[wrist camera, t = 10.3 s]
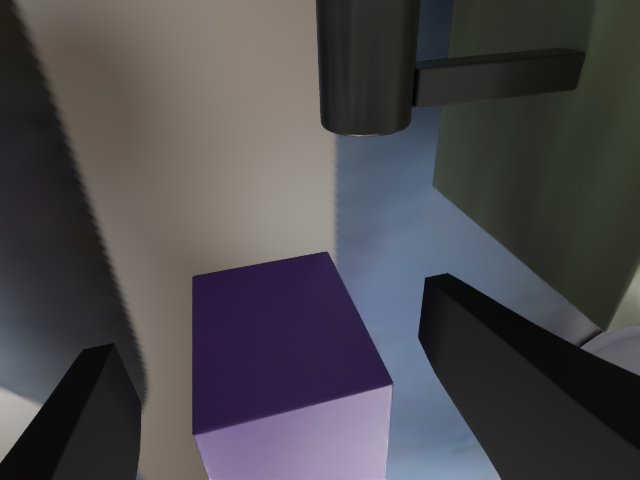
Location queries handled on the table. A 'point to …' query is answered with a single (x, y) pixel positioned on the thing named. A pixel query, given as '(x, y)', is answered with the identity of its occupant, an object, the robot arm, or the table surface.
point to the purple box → (286, 376)
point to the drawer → (513, 126)
